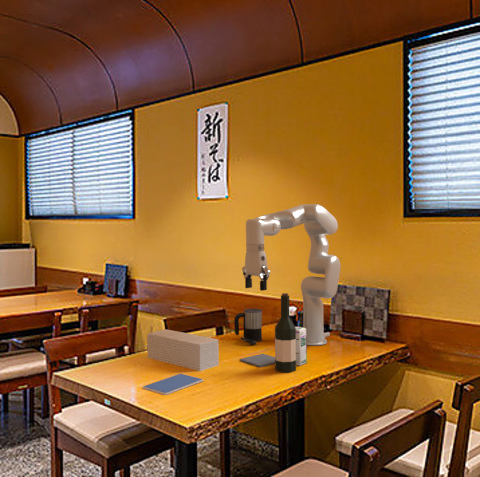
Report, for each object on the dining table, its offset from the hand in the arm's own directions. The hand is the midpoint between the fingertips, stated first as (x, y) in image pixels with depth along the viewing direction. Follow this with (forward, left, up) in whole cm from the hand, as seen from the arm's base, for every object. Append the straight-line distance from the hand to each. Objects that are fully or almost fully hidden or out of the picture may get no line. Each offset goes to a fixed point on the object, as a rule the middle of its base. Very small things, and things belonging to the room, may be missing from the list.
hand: (255, 289), depth 218 cm
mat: (+1, +4, -30) cm, 30 cm away
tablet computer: (+45, +6, -31) cm, 54 cm away
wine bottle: (+2, +19, -30) cm, 36 cm away
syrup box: (-8, +16, -30) cm, 35 cm away
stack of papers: (+26, -18, -30) cm, 44 cm away
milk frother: (-18, -25, -30) cm, 43 cm away
